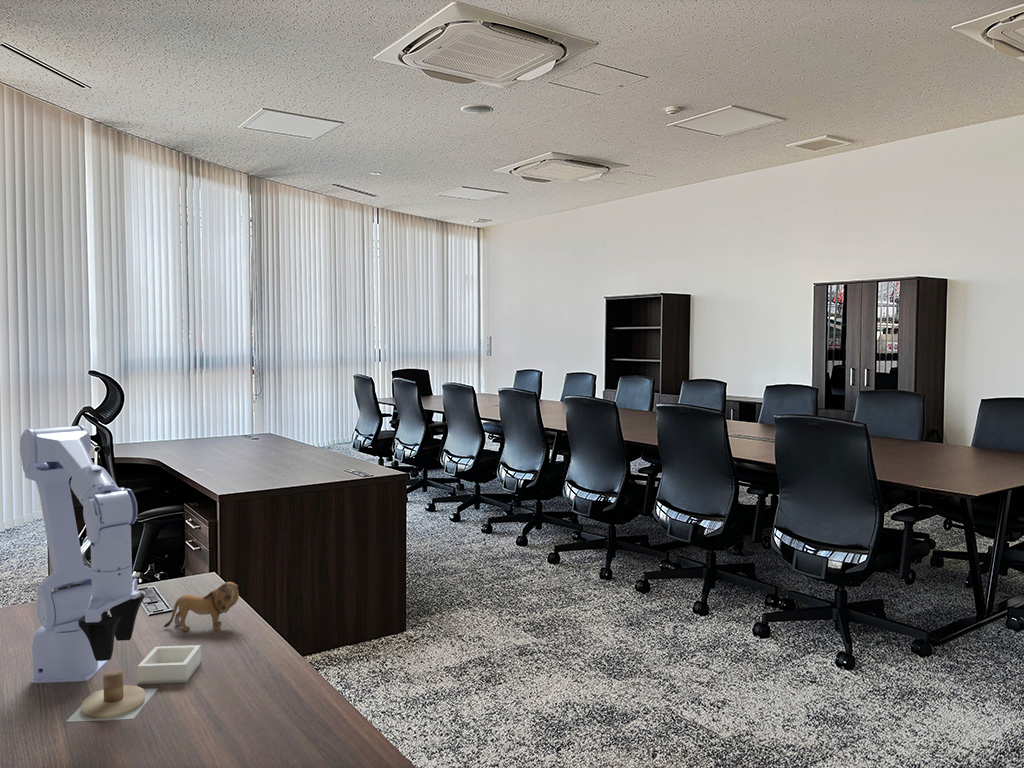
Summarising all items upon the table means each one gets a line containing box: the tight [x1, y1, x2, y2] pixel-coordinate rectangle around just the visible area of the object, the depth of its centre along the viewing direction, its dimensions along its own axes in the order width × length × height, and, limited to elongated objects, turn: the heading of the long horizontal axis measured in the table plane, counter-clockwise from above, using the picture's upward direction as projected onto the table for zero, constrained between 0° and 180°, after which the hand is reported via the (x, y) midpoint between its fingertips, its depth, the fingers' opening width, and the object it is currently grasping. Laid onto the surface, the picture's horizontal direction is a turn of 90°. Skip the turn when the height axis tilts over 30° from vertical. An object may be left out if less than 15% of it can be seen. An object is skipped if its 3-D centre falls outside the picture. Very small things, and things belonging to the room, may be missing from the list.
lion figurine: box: [163, 581, 240, 632], centre depth 151 cm, size 15×5×9 cm, turn 103°
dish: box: [137, 644, 202, 685], centre depth 130 cm, size 8×8×4 cm
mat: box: [65, 688, 159, 723], centre depth 119 cm, size 10×10×1 cm
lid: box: [81, 669, 145, 719], centre depth 119 cm, size 9×9×5 cm
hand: (114, 649), depth 118 cm, fingers open, 7 cm apart
